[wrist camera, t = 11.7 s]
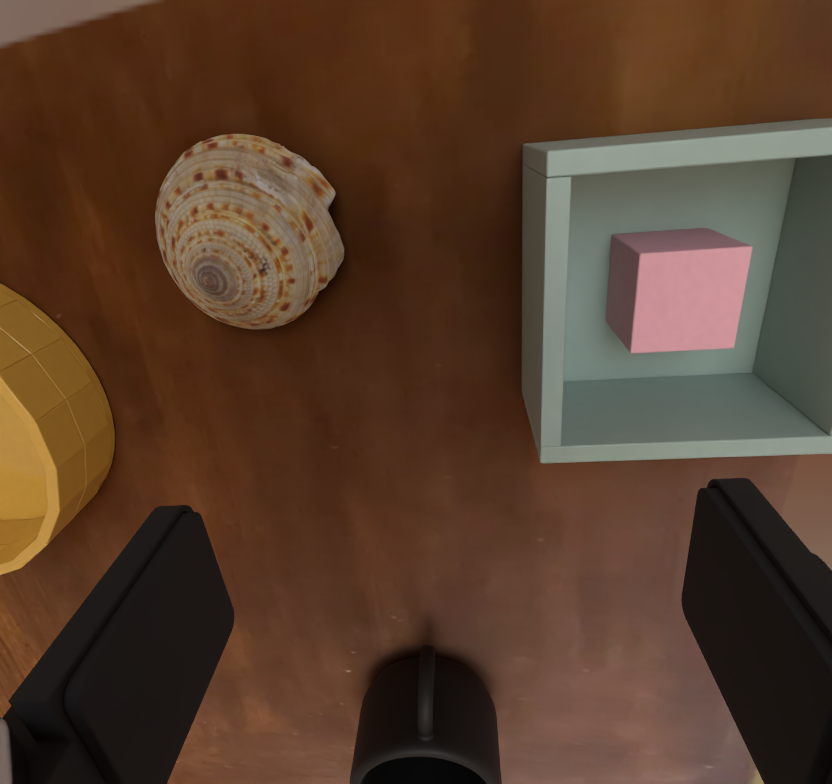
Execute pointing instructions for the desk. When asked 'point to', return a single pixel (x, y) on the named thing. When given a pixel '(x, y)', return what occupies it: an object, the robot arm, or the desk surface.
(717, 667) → the robot arm
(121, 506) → the desk surface
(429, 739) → the mug
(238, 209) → the seashell
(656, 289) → the toy pink
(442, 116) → the desk surface
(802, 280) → the bin
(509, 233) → the desk surface
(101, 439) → the bowl
